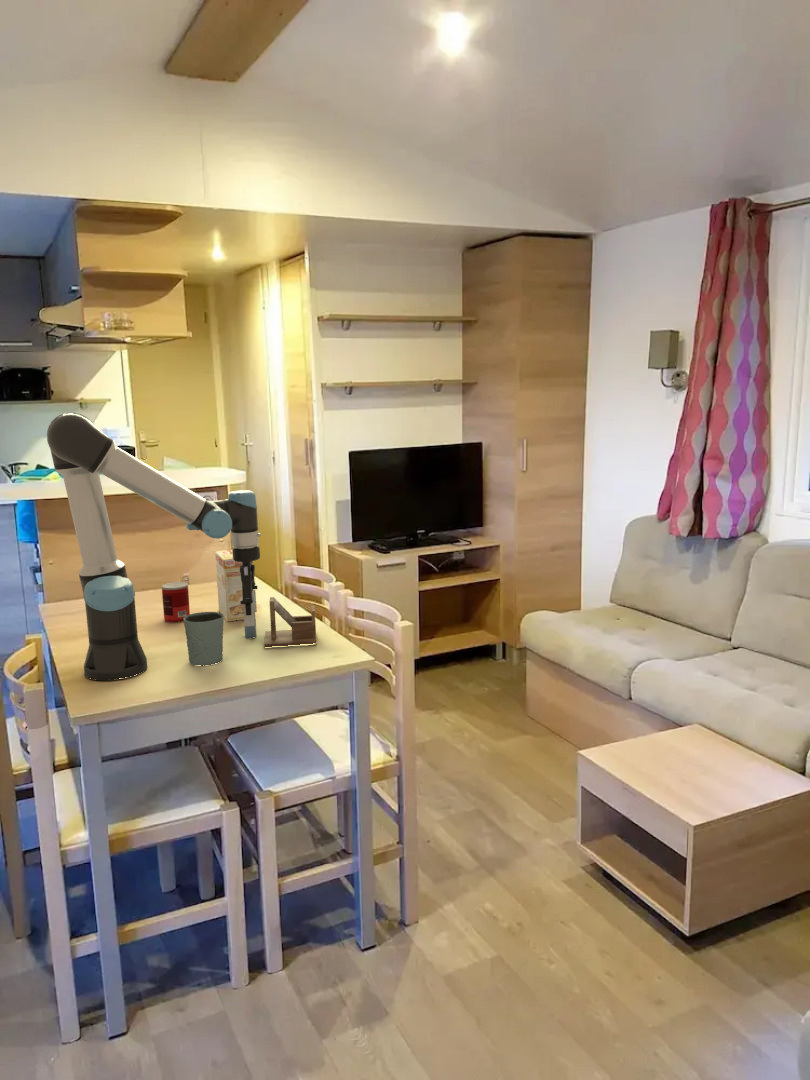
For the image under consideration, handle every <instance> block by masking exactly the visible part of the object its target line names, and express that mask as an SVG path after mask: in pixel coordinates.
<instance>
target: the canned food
mask: <svg viewBox="0 0 810 1080" xmlns="http://www.w3.org/2000/svg"><path fill="white" fill-rule="evenodd" d="M189 594H190V593H189V585H188V583H187V582H183V581H173V582H167V583H165V584H163V585H161V596H162V597H161V598H162V606H163V608H162V610H163V618H164V621H165V622H166V623H172V624H174V623H175V624H176V623H182V622H183V623H184V620H183V618H184V617H185V616H187V615H190V614H191V611H190V597H189V596H190V595H189Z"/></svg>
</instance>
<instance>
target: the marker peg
mask: <svg viewBox="0 0 810 1080" xmlns="http://www.w3.org/2000/svg"><path fill="white" fill-rule="evenodd" d="M246 599H250V598H246ZM252 600H253V607H254V621H255V626H245V623H244V622H243V624H244V637H246V638H245V639H248V638H251V639H254V638H253V637H255V638H257V624H256V623H257V621H256V612H255V601H254V595H252ZM243 610H244V609H243Z"/></svg>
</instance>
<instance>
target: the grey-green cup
mask: <svg viewBox="0 0 810 1080" xmlns="http://www.w3.org/2000/svg"><path fill="white" fill-rule="evenodd" d="M183 620H184V621H183V625H184V631H185V632H184V633H185V637H186V647H187V651H188V652H187V654H188V661H189V664H190V663H191V664H193V665H192V666H194V665H201V666H200V667H206V666H205V665H211V664H215V663H218V662H220V661H221V660H222V661H223V658H224V657H223V652H224V650H223V649H224V646H223V645H224V643H223V642H224V621H225V618H224V615H223V614H221V612H217V611H204V612H203V611H202V612H200V611H199V612H195V613H190V615H187V616H185V617H184V618H183ZM222 661H221V662H222ZM221 662H220V663H221ZM191 664H190V665H191ZM218 664H219V663H218ZM203 665H204V666H203ZM215 665H216V664H215ZM211 666H212V665H211Z"/></svg>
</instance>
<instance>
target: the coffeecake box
mask: <svg viewBox="0 0 810 1080" xmlns="http://www.w3.org/2000/svg"><path fill="white" fill-rule="evenodd" d="M214 553H215V554H214V555H215V570H216V585H217V586H216V588H217V601H218V602H217V603H218V604H217V605H218V611H219V613H221V614H223V615H224V620H225V621H226V622H228V621H229V622H235V621H236V620H237V621H244V610H243V604H241V603H240V601H242V600H243V596H242V582H241V574H240V565H242V562H237V561H234V560H233V552H232V549H223V550H215V552H214Z"/></svg>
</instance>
